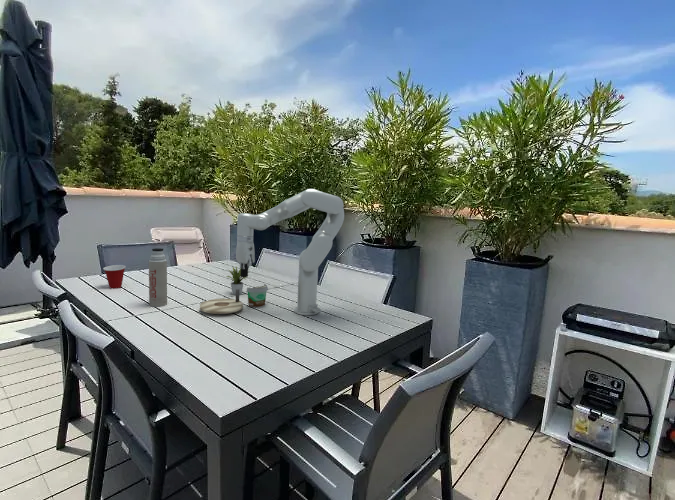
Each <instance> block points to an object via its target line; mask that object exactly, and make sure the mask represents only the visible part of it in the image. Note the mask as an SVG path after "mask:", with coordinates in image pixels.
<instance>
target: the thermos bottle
mask: <svg viewBox="0 0 675 500" xmlns="http://www.w3.org/2000/svg"><path fill="white" fill-rule="evenodd" d="M148 301H149V304H148V305H149V307H152V308H153V307H156V308H159V307H164V306H166V305H168V260H167V259H166V255H165V254H164V248H162V247H161V248H159V247H157V248H155V247H154V248H152V249H151V255H150V256H149V260H148Z"/></svg>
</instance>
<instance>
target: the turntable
mask: <svg viewBox="0 0 675 500" xmlns="http://www.w3.org/2000/svg"><path fill="white" fill-rule="evenodd" d="M243 308H244V303H243V302H242V301H241V300H240V295H239V289H236V295H235V298H213V299H208V300H204V301H202V302H201V303H200V304H199V310H200V311H201V312H203V313H206V314H214V315H218V314H220V315H223V314H224V315H225V314H232V313H236V312H239V311H241V310H242V309H243Z"/></svg>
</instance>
